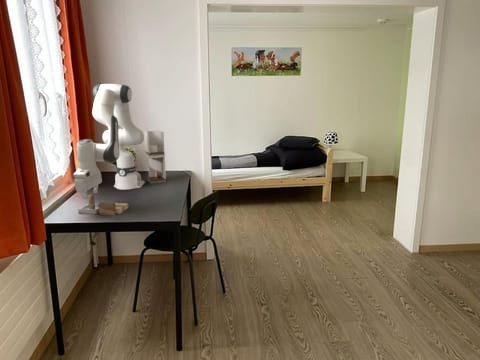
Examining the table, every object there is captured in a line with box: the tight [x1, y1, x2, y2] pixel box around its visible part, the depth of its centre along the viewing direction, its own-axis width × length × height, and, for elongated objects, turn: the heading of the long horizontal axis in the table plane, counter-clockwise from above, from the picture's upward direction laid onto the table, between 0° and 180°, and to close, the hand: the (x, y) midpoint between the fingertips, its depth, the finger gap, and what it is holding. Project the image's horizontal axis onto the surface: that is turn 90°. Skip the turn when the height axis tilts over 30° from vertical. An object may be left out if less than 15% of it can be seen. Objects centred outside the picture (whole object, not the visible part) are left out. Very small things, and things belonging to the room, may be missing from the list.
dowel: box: [87, 194, 96, 209], centre depth 201 cm, size 3×3×8 cm
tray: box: [77, 202, 99, 215], centre depth 202 cm, size 10×10×2 cm
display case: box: [144, 130, 167, 184], centre depth 264 cm, size 11×11×35 cm
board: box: [98, 202, 129, 215], centre depth 203 cm, size 10×12×3 cm
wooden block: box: [97, 201, 117, 216], centre depth 196 cm, size 3×8×6 cm, turn 82°
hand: (90, 195), depth 201 cm, fingers open, 8 cm apart
